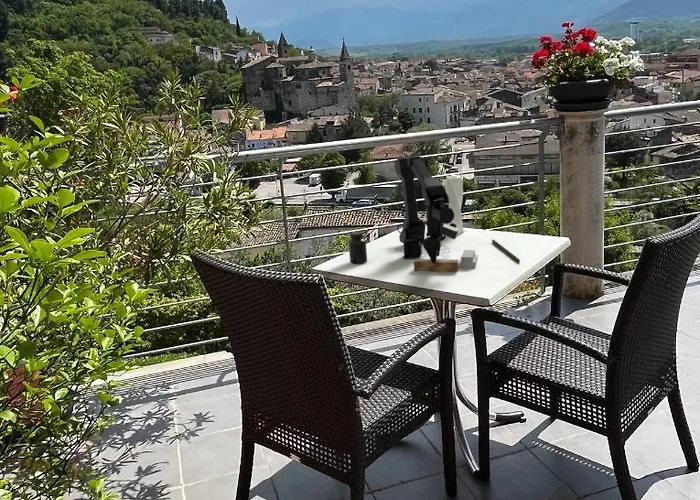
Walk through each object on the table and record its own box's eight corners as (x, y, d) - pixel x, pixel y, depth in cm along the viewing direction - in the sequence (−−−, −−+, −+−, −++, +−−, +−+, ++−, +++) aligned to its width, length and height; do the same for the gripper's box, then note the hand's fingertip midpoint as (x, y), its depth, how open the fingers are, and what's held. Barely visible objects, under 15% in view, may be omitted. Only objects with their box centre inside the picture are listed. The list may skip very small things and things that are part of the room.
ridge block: (459, 267, 252) (458, 257, 251) (461, 259, 262) (461, 249, 260) (475, 267, 251) (475, 257, 250) (477, 259, 260) (477, 249, 259)
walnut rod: (414, 272, 251) (413, 261, 250) (415, 269, 254) (415, 259, 253) (457, 272, 247) (457, 262, 246) (458, 269, 250) (458, 259, 249)
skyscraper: (468, 232, 303) (467, 170, 296) (459, 236, 297) (458, 173, 290) (451, 230, 308) (450, 169, 301) (442, 234, 302) (441, 172, 295)
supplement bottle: (358, 258, 272) (356, 229, 269) (370, 261, 267) (369, 232, 264) (346, 263, 268) (344, 233, 264) (358, 265, 263) (356, 235, 260)
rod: (519, 264, 253) (519, 258, 252) (517, 264, 252) (517, 259, 252) (493, 243, 283) (493, 238, 282) (491, 243, 283) (491, 239, 282)
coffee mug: (430, 241, 290) (429, 219, 288) (421, 247, 283) (420, 223, 281) (406, 239, 296) (405, 217, 294) (396, 244, 289) (395, 221, 287)
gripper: (453, 224, 235) (454, 267, 239) (459, 212, 252) (460, 252, 256) (422, 224, 238) (423, 266, 242) (429, 212, 255) (431, 252, 259)
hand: (435, 259), depth 250 cm, fingers open, 9 cm apart
